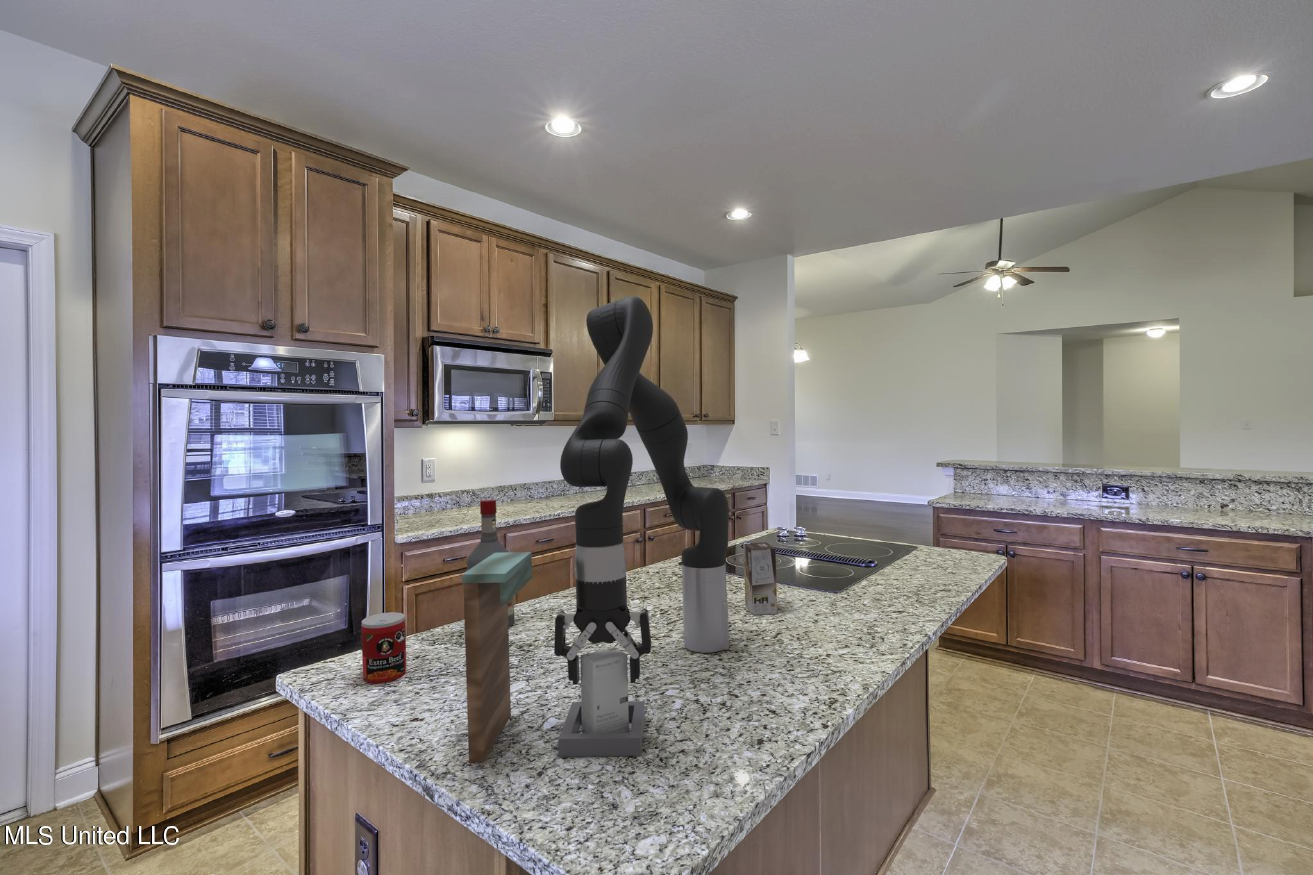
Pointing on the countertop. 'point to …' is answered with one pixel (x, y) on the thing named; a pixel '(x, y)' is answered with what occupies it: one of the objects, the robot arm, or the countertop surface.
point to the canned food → (383, 647)
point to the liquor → (489, 544)
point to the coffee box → (760, 578)
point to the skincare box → (604, 692)
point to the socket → (602, 735)
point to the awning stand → (490, 645)
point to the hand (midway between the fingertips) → (604, 681)
